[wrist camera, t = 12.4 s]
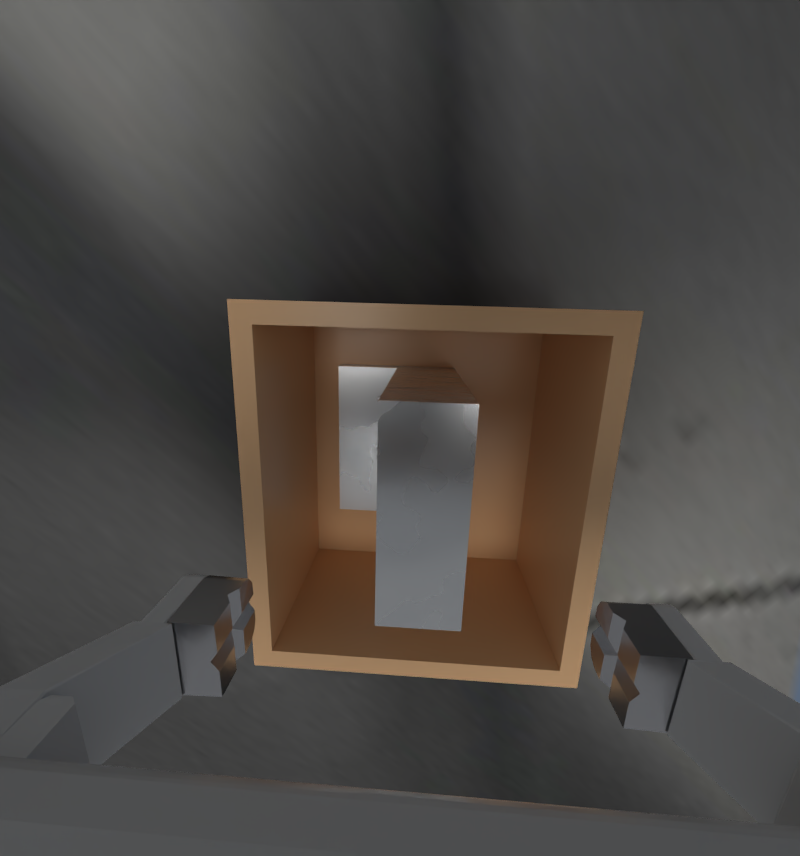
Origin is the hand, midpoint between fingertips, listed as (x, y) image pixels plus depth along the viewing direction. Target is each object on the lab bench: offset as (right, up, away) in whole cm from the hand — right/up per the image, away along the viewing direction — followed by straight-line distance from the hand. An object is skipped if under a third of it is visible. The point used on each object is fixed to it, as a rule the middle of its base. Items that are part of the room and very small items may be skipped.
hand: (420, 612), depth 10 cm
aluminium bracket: (-1, +4, +13) cm, 14 cm away
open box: (+1, +3, +14) cm, 15 cm away
